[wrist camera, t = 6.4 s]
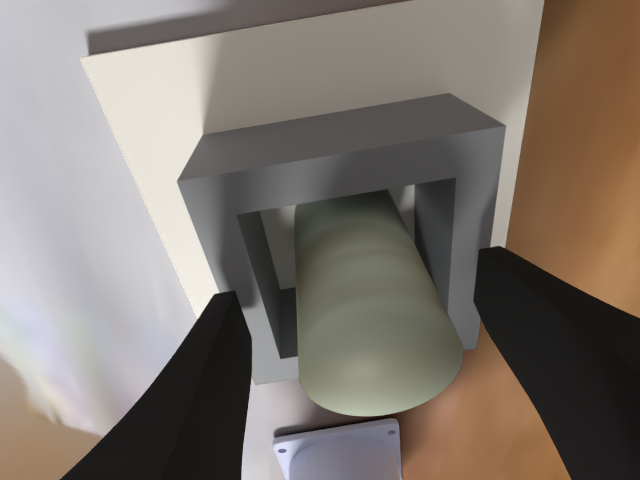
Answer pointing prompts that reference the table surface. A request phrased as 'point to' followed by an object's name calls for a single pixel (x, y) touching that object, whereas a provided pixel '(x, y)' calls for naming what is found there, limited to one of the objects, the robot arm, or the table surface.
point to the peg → (367, 310)
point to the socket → (326, 145)
